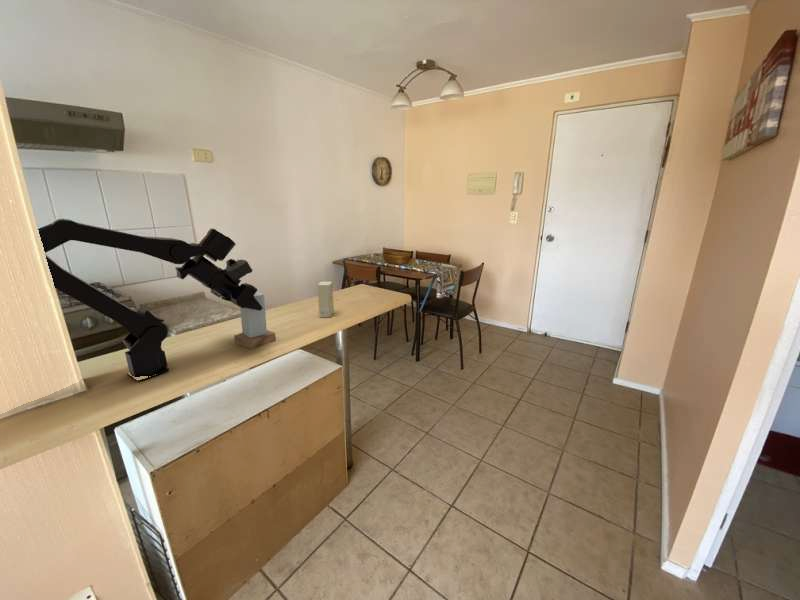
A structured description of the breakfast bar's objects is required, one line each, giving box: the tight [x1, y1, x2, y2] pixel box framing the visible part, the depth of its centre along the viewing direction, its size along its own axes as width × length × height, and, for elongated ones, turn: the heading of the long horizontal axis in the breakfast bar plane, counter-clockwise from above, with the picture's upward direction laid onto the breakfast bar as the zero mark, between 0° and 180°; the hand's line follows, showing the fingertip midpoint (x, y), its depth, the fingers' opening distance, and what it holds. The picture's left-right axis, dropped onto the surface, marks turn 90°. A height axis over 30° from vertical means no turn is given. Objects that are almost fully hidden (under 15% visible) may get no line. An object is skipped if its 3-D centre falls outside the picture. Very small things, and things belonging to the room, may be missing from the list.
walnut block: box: [233, 329, 277, 350], centre depth 98 cm, size 8×8×3 cm
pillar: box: [239, 291, 268, 338], centre depth 97 cm, size 5×5×12 cm
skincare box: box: [316, 281, 335, 318], centre depth 122 cm, size 6×4×12 cm
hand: (256, 306), depth 97 cm, fingers open, 6 cm apart
